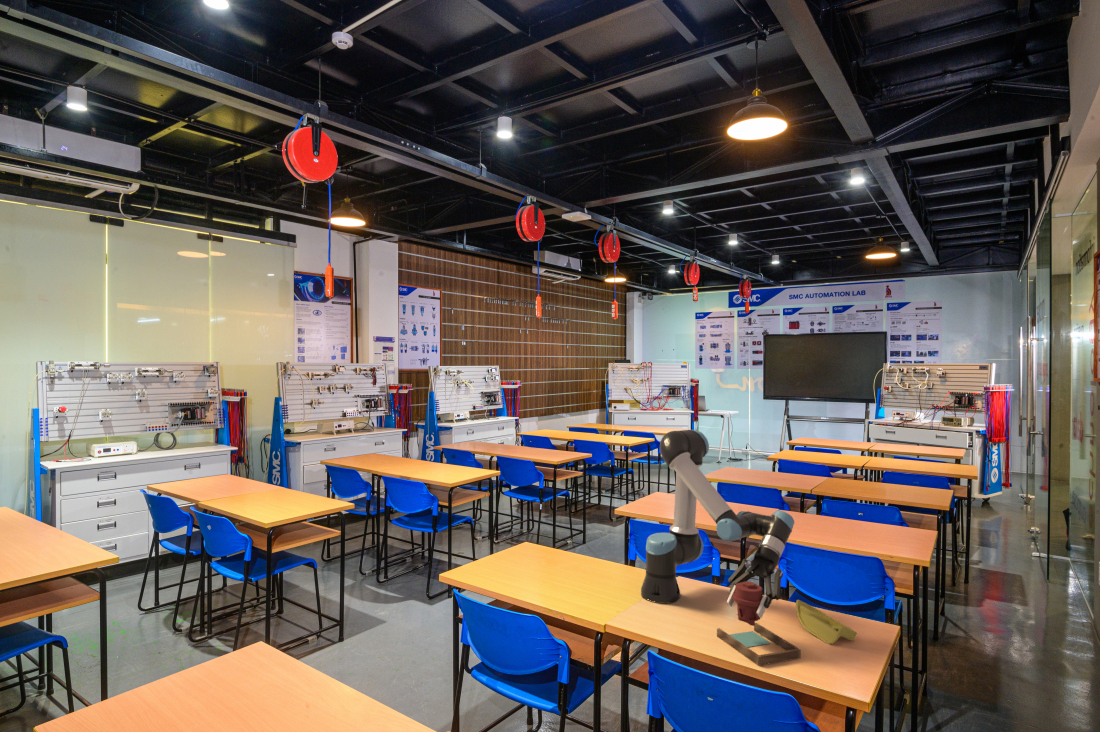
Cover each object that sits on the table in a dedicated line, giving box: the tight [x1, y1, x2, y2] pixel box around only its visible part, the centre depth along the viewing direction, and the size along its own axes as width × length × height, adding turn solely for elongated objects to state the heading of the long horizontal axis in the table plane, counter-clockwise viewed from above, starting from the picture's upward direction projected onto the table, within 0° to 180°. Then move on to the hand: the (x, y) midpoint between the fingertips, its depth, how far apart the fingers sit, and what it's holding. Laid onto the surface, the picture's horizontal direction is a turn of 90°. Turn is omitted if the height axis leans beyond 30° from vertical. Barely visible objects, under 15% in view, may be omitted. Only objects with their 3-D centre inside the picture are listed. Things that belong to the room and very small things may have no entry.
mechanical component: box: [733, 580, 764, 627], centre depth 181 cm, size 12×10×10 cm
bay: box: [716, 622, 802, 667], centre depth 177 cm, size 20×16×2 cm
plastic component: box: [795, 599, 858, 645], centre depth 189 cm, size 20×7×10 cm
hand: (743, 609), depth 179 cm, fingers closed on mechanical component, 10 cm apart
